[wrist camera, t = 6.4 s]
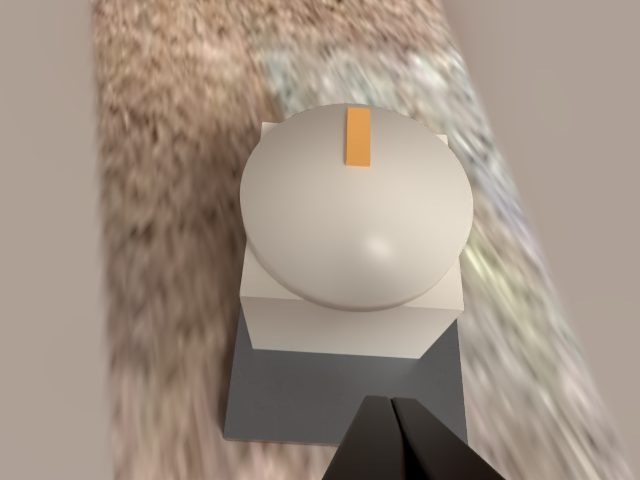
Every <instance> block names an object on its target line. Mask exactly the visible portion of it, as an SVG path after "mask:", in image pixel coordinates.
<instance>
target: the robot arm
mask: <svg viewBox="0 0 640 480" xmlns="http://www.w3.org/2000/svg"><path fill="white" fill-rule="evenodd" d="M322 480H506V479H505V478H503V477H502V476H501V475H500V474H499V473H498V472H497V471H496V470H495V469H493V468H492V467H491V466H490V465H489V464H488V463H487V462H486V461H485V460H484V459H482V458H481V457H480V456H479V455H478V454H477V453H476V452H475V451H474V450H473V449H471V448H470V447H469V446H468V445H467V444H466V443H465V442H464V441H463V440H462V439H460V438H459V437H458V436H457V435H456V434H455V433H454V432H453V431H452V430H450V429H449V428H448V427H447V426H446V425H445V424H444V423H443V422H442V421H441V420H439V419H438V418H437V417H436V416H435V415H434V414H433V413H432V412H431V411H430V410H428V409H427V408H426V407H425V406H424V405H423V404H422V403H421V402H420V401H419V400H417V399H416V398H414V397H400V396H394V397H392V398H391V399H390V397H388V396H383V395H366V396H365V397H364V399H363V401H362V403H361V405H360V407H359V409H358V410H357V412H356V414H355V416H354V418H353V420H352V422H351V424H350V426H349V428H348V430H347V432H346V434H345V436H344V438H343V440H342V441H341V443H340V445H339V447H338V449H337V451H336V453H335V455H334V457H333V459H332V461H331V463H330V465H329V467H328V469H327V471H326V473H325V474H324V476H323V478H322Z"/></svg>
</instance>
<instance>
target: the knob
mask: <svg viewBox="0 0 640 480" xmlns="http://www.w3.org/2000/svg"><path fill="white" fill-rule="evenodd" d="M240 204H241V212H242V218H243V224H244V228H245V232H246V236H247V242H246V250H245V257H244V265H243V272H242V280H241V287H240V295H239V297H240V300H241V304H242V308H243V312H244V316H245V320H246V324H247V328H248V332H249V336H250V340H251V344H252V348H253V349H265V350H282V351H299V352H315V353H332V354H348V355H365V356H382V357H398V358H415V359H419V358H420V357H421V356H422V355H423V354H424V353H425V352H426V351H427V350H428V349H429V348H430V346H431V345H432V344H433V343H434V342H435V341H436V340H437V339H438V338H439V337H440V336H441V335H442V333H443V332H444V331H445V330H446V329H447V328H448V327H449V326H450V325H451V324H452V323H453V322H454V320H455V319H456V318H457V317H458V316H459V315H460V314H461V313H462V312H463V311H464V304H463V294H462V284H461V273H460V263H459V254H460V253H461V251H462V250H463V248H464V246H465V243H466V241H467V239H468V237H469V233H470V230H471V226H472V219H473V198H472V193H471V188H470V184H469V181H468V179H467V176H466V173H465V171H464V169H463V167H462V166H461V164H460V162H459V160H458V159H457V158H456V156H455V155H454V153H453V152H452V151H451V149H450V148H449V147H448V143H447V135H436V134H434V133H433V132H432V131H430V130H429V129H428V128H426V127H425V126H423V125H422V124H420V123H418V122H417V121H415V120H413V119H411V118H409V117H407V116H405V115H402V114H400V113H398V112H395V111H391V110H388V109H385V108H381V107H376V106H372V105H364V104H332V105H326V106H320V107H316V108H313V109H309V110H306V111H303V112H301V113H298V114H296V115H294V116H292V117H290V118H288V119H286V120H285V121H283V122H281V123H268V122H263V123H262V130H261V137H260V142H259V143H258V144H257V146H256V147H255V148H254V150H253V152H252V153H251V155H250V157H249V158H248V161H247V163H246V166H245V168H244V171H243V175H242V179H241V185H240Z"/></svg>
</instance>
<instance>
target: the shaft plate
mask: <svg viewBox="0 0 640 480" xmlns="http://www.w3.org/2000/svg"><path fill="white" fill-rule="evenodd" d="M366 395H383V396H388V397H390V399H391V398H392V397H394V396H400V397H414V398H416V399H417V400H419V401H420V402H421V403H422V404H423V405H424V406H425V407H426V408H427V409H428V410H430V411H431V412H432V413H433V414H434V415H435V416H436V417H437V418H438V419H439V420H441V421H442V422H443V423H444V424H445V425H446V426H447V427H448V428H449V429H450V430H452V431H453V432H454V433H455V434H456V435H457V436H458V437H459V438H460V439H462V440H463V441H464V442H465V443H466V444H467V445H468V440H467V429H466V418H465V407H464V396H463V385H462V374H461V363H460V352H459V341H458V330H457V319H455V320H454V322H453V323H452V324H451V325H450V326H449V327H448V328H447V329H446V330H445V331H444V332H443V333H442V335H441V336H440V337H439V338H438V339H437V340H436V341H435V342H434V343H433V344H432V345H431V346H430V348H429V349H428V350H427V351H426V352H425V353H424V354H423V355H422V356H421V357H420V358H419V359H415V358H398V357H382V356H365V355H348V354H332V353H315V352H299V351H282V350H265V349H253V348H252V344H251V340H250V336H249V332H248V328H247V324H246V320H245V316H244V312H243V308H242V304H240V312H239V320H238V327H237V335H236V342H235V350H234V358H233V365H232V373H231V380H230V388H229V396H228V403H227V411H226V419H225V426H224V434H223V438H224V439H225V440H227V441H245V442H263V443H281V444H299V445H317V446H335V447H339V445H340V443H341V441H342V440H343V438H344V436H345V434H346V432H347V430H348V428H349V426H350V424H351V422H352V420H353V418H354V416H355V414H356V412H357V410H358V409H359V407H360V405H361V403H362V401H363V399H364V397H365V396H366Z"/></svg>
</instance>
